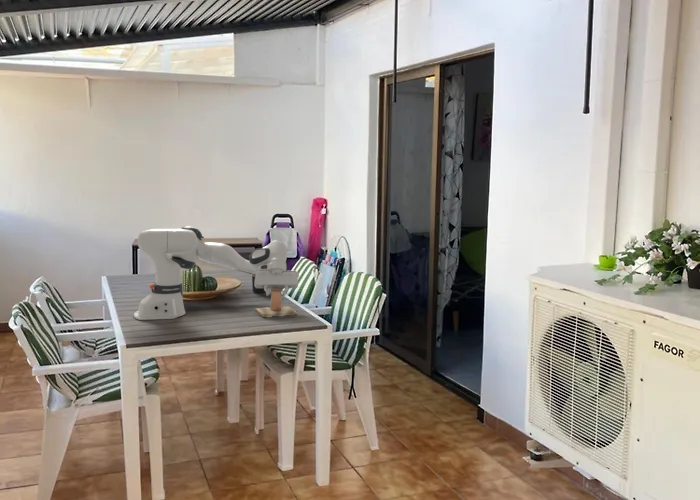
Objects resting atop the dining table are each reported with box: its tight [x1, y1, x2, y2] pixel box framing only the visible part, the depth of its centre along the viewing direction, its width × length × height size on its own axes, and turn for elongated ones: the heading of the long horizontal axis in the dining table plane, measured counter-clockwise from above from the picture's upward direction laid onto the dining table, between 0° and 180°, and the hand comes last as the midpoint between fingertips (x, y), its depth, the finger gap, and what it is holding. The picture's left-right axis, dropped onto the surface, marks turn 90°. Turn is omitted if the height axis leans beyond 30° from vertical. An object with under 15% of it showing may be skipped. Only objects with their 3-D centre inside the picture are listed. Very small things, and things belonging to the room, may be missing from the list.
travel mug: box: [251, 274, 266, 294], centre depth 347 cm, size 8×8×20 cm
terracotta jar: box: [270, 287, 283, 311], centre depth 301 cm, size 5×5×10 cm
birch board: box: [255, 305, 298, 318], centre depth 302 cm, size 16×13×2 cm
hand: (275, 295), depth 300 cm, fingers open, 6 cm apart
